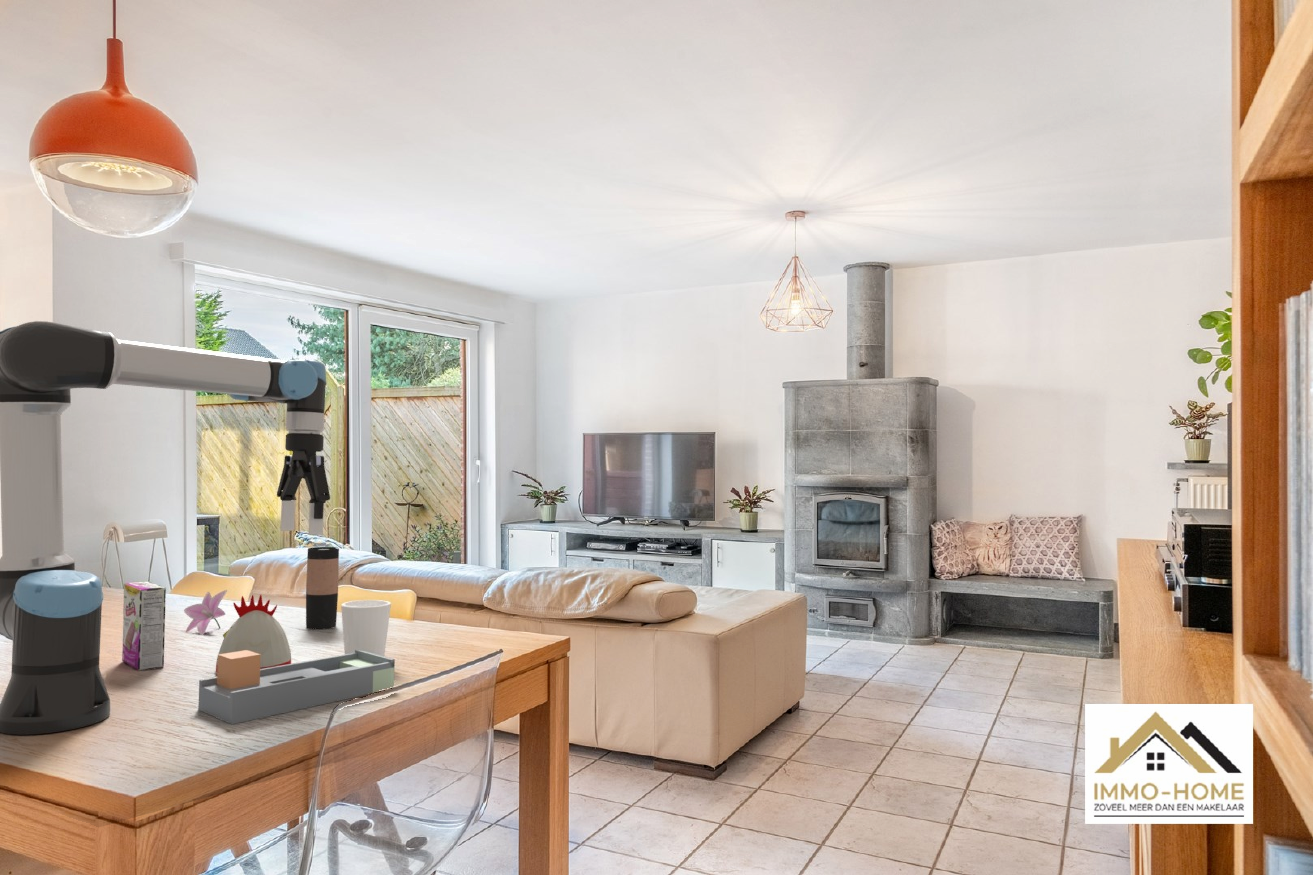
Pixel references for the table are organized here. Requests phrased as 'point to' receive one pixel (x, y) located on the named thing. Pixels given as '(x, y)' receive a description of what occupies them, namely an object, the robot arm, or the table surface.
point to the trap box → (298, 686)
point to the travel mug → (322, 587)
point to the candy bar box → (144, 625)
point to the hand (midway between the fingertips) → (301, 532)
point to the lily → (205, 612)
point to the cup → (365, 625)
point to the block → (238, 669)
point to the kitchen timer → (257, 635)
